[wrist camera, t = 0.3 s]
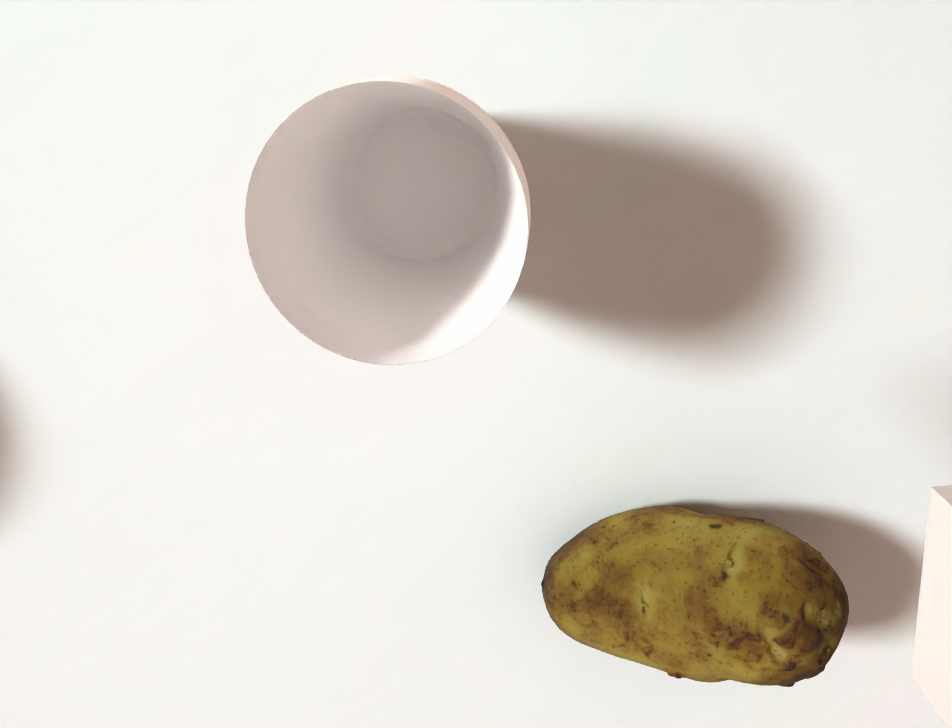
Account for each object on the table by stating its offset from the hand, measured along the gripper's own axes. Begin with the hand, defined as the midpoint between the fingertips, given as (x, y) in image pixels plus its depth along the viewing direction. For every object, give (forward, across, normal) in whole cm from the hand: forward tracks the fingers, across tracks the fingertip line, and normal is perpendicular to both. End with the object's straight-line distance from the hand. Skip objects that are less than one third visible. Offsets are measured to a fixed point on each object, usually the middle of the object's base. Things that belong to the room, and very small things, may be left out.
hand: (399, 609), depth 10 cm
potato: (+28, +9, -17) cm, 34 cm away
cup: (+28, -2, +2) cm, 28 cm away
